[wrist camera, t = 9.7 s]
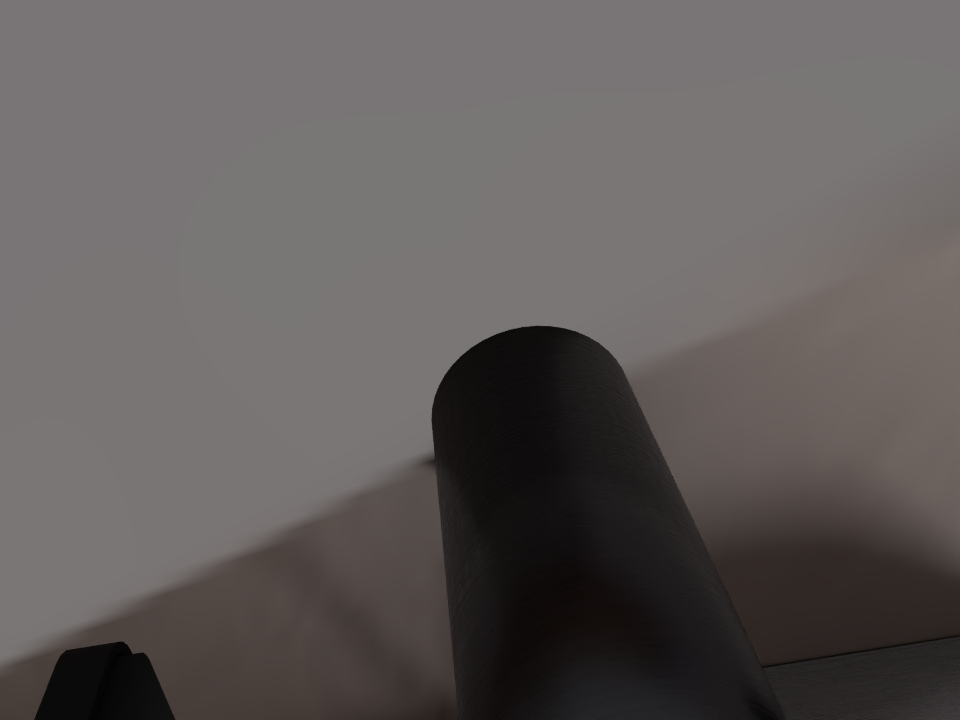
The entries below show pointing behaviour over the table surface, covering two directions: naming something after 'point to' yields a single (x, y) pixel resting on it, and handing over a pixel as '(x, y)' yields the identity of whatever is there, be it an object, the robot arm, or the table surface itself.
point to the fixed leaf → (873, 684)
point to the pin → (576, 548)
